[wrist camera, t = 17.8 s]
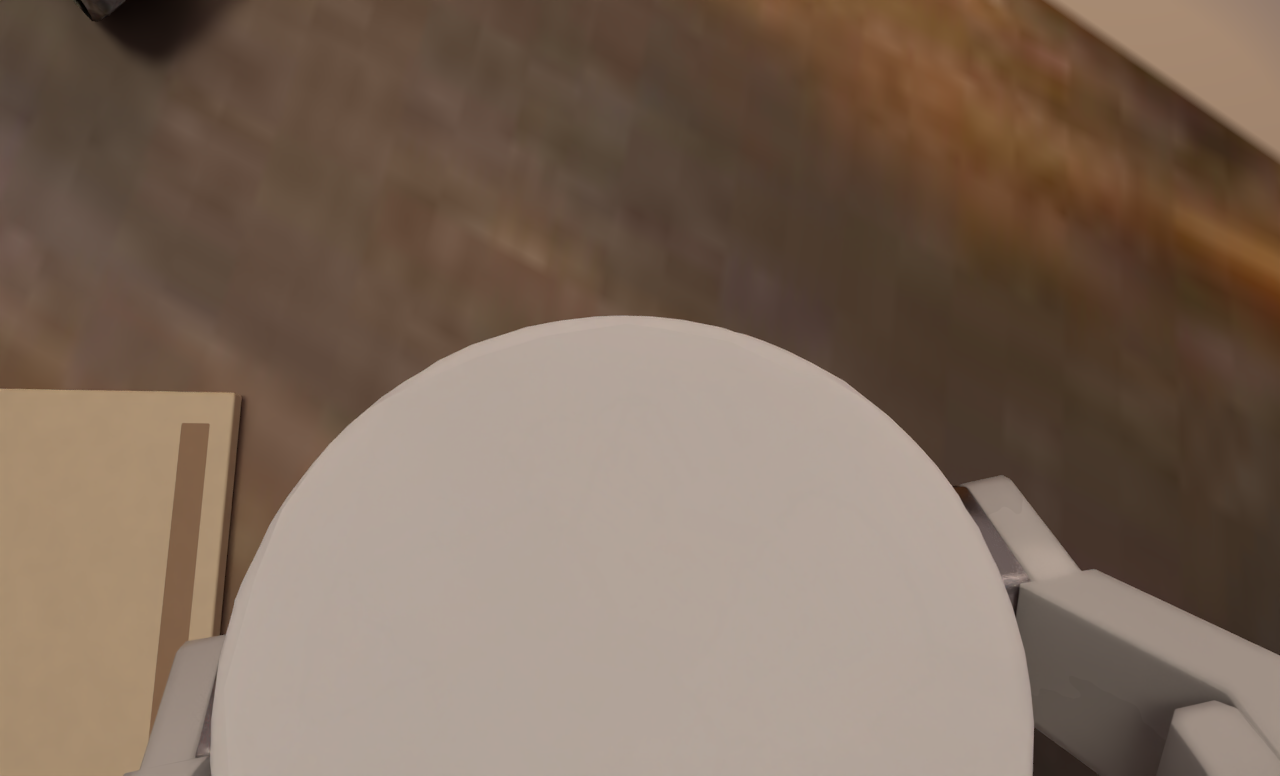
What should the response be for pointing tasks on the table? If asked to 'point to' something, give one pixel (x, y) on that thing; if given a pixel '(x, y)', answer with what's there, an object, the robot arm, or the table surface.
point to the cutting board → (105, 565)
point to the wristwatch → (98, 7)
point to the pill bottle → (623, 579)
